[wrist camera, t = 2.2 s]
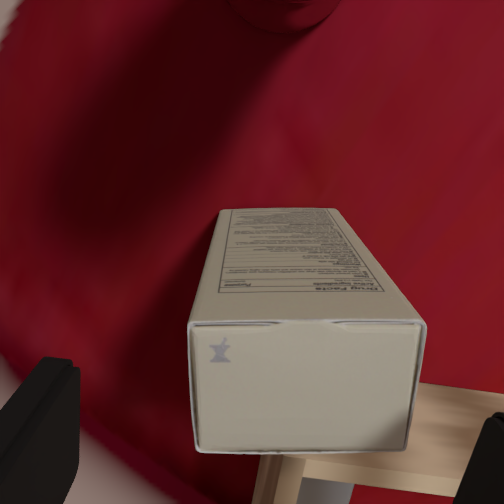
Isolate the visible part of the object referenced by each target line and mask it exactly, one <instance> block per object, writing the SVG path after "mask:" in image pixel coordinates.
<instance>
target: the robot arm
mask: <svg viewBox="0 0 504 504" xmlns="http://www.w3.org/2000/svg"><path fill="white" fill-rule="evenodd" d="M79 429H80V368H79V367H73V362H72V360H70V359H62V358H54V357H43V358H42V359H41V360H40V362H39V363H38V364H37V365H36V367H35V368H34V369H33V370H32V371H31V373H30V374H29V375H28V376H27V378H26V379H25V380H24V381H23V383H22V384H21V385H20V386H19V388H18V389H17V390H16V391H15V393H14V394H13V395H12V396H11V398H10V399H9V400H8V401H7V403H6V404H5V405H4V406H3V408H2V409H1V410H0V504H63V502H64V501H65V498H66V496H67V494H68V492H69V489H70V488H71V485H72V483H73V481H74V479H75V476H76V473H77V470H78V465H79V434H80V433H79V432H80V431H79ZM453 504H504V412H495V413H494V414H493V415H492V416H491V417H489V418H487V419H486V420H485V422H484V424H483V426H482V429H481V432H480V434H479V437H478V439H477V442H476V444H475V447H474V449H473V452H472V455H471V457H470V460H469V462H468V465H467V467H466V470H465V472H464V475H463V477H462V480H461V483H460V485H459V488H458V490H457V493H456V495H455V498H454V500H453Z"/></svg>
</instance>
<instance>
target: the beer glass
mask: <svg viewBox="0 0 504 504" xmlns="http://www.w3.org/2000/svg"><path fill="white" fill-rule="evenodd" d="M227 1H228V3H229V4H230V6H231V7H232V8H233V9H234V10H235V12H236V13H237V14H239V15H240V16H241V17H242V18H243V19H244V20H246V21H247V22H248V23H250V24H252V25H253V26H255V27H257V28H259V29H262V30H265V31H268V32H273V33H293V32H298V31H302V30H305V29H307V28H310V27H312V26H314V25H315V24H317V23H319V22H320V21H322V20H323V19H324V18H326V17H327V16H328V15H329V14H330V13H331V12H332V11H333V10H334V9H335V8H336V7H337V5H338V4H339V3H340V1H341V0H227Z"/></svg>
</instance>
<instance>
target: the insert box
mask: <svg viewBox="0 0 504 504" xmlns="http://www.w3.org/2000/svg"><path fill="white" fill-rule="evenodd" d="M495 412H504V394H499V393H492V392H484V391H477V390H470V389H463V388H455V387H448V386H441V385H434V384H427V383H418V390H417V395H416V401H415V406H414V411H413V417H412V422H411V427H410V430H409V437H408V443H407V448H406V450H405V451H402V452H374V453H336V454H262V455H261V457H260V463H259V468H258V473H257V478H256V484H255V489H254V494H253V499H252V504H349V501H350V497H351V494H352V490H353V487H354V484H360V485H368V486H375V487H383V488H390V489H398V490H405V491H413V492H420V493H428V494H436V495H443V496H451V497H455V495H456V493H457V490H458V488H459V485H460V483H461V480H462V477H463V475H464V472H465V470H466V467H467V465H468V462H469V460H470V457H471V455H472V452H473V449H474V447H475V444H476V442H477V439H478V437H479V434H480V432H481V429H482V426H483V424H484V422H485V420H486V419H487V418H489V417H491V416H492V415H493V414H494V413H495Z"/></svg>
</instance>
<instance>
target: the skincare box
mask: <svg viewBox="0 0 504 504" xmlns="http://www.w3.org/2000/svg"><path fill="white" fill-rule="evenodd" d="M426 333H427V325H426V323H425V322H424V320H423V319H422V318H421V317H420V315H419V314H418V313H417V311H416V310H415V309H414V308H413V306H412V305H411V304H410V303H409V301H408V300H407V299H406V297H405V296H404V295H403V294H402V293H401V291H400V290H399V289H398V287H397V286H396V285H395V283H394V282H393V281H392V280H391V278H390V277H389V276H388V274H387V273H386V272H385V271H384V269H383V268H382V267H381V265H380V264H379V263H378V262H377V260H376V259H375V258H374V257H373V255H372V254H371V253H370V251H369V250H368V249H367V247H366V246H365V245H364V244H363V242H362V241H361V240H360V239H359V237H358V236H357V235H356V233H355V232H354V231H353V230H352V228H351V227H350V226H349V224H348V223H347V222H346V221H345V219H344V218H343V217H342V215H341V214H340V213H339V211H338V210H336V209H331V208H253V209H229V210H221V211H220V212H219V216H218V219H217V223H216V227H215V230H214V233H213V237H212V240H211V244H210V247H209V251H208V254H207V258H206V261H205V265H204V269H203V272H202V276H201V279H200V283H199V286H198V290H197V293H196V297H195V300H194V304H193V307H192V310H191V313H190V317H189V320H188V324H187V337H188V368H189V387H190V402H191V416H192V426H193V433H194V442H195V448H196V450H197V451H198V452H201V453H219V454H261V455H262V454H336V453H374V452H402V451H405V450H406V448H407V443H408V437H409V430H410V427H411V422H412V417H413V411H414V406H415V401H416V395H417V390H418V383H419V377H420V372H421V366H422V360H423V353H424V346H425V340H426Z"/></svg>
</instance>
